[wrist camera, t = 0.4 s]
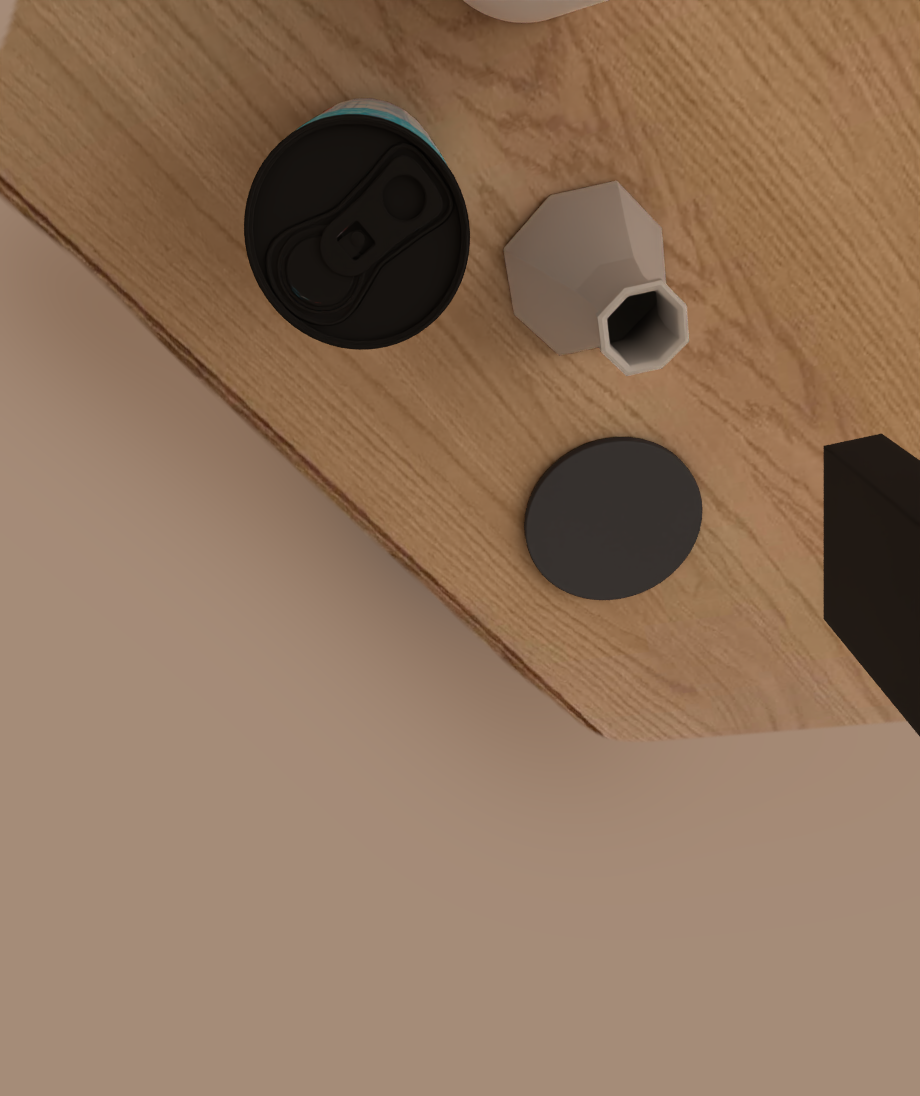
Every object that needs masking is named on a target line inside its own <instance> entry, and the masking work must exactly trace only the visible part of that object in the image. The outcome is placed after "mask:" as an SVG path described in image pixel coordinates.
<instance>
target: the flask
mask: <svg viewBox="0 0 920 1096" xmlns="http://www.w3.org/2000/svg"><path fill="white" fill-rule="evenodd" d="M503 251H504V257H505V263H506V269H507V275H508V281H509V287H510V293H511V299H512V305H513V311H514V315H515V316H516V317H518V318H519V319H520V320H521V321H522V322H523V323H524V324H525V325H526V326H527V327H528V328H530V329H531V330H532V331H533V332H534V333H535V334H536V335H537V336H538V337H539V338H540V339H542V340H543V341H544V342H545V343H546V344H547V345H548V346H549V347H550V348H551V349H552V350H554V351H555V352H556V353H557V354H558V355H559V356H560V355H566V354H570V353H575V352H579V351H584V350H589V349H593V348H598V347H600V352H602V353H603V354H604V355H605V356H606V357H607V358H608V359H609V360H610V361H611V362H612V363H613V364H614V365H615V366H616V367H617V368H619V369H620V370H621V371H622V372H623V373H624V374H625V375H626V376H629V375H634V374H638V373H643V372H648V371H652V370H657V369H662V368H663V367H664V366H665V365H666V364H667V363H668V362H669V361H670V360H671V359H672V358H673V357H674V356H675V355H676V354H677V353H678V352H679V351H680V350H681V349H682V348H683V347H684V346H685V345H686V344H687V343H688V342H689V333H688V318H687V305H686V304H685V303H684V302H683V301H682V300H681V299H680V298H679V297H678V296H677V295H676V294H675V293H674V292H673V291H672V290H671V289H670V288H669V287H668V286H667V285H666V274H665V262H664V249H663V237H662V228H661V227H660V226H659V225H658V224H657V222H656V221H655V220H654V219H653V218H652V217H651V216H650V215H649V214H648V213H647V212H646V211H645V210H644V209H643V208H642V207H641V206H640V205H639V203H638V202H637V201H636V200H635V199H634V198H633V197H632V196H631V195H630V194H629V193H628V192H627V191H626V190H625V189H624V188H623V187H622V185H621V184H620V183H619V182H618V181H613V182H608V183H604V184H599V185H594V186H590V187H585V188H581V189H576V190H572V191H567V192H563V193H558V194H554V195H550V196H549V197H548V198H547V199H546V200H545V201H544V203H543V204H542V205H541V206H540V207H539V208H538V209H537V211H536V212H535V213H534V214H533V215H532V216H531V218H530V219H529V220H528V221H527V222H526V223H525V224H524V226H523V227H522V228H521V229H520V230H519V231H518V232H517V234H516V235H515V236H514V237H513V238H512V239H511V241H510V242H509V243H508V244H507V245H506V246H505V247H504V249H503Z"/></svg>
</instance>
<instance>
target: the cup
mask: <svg viewBox="0 0 920 1096" xmlns="http://www.w3.org/2000/svg"><path fill="white" fill-rule="evenodd" d="M463 1H464V2H466V3H467V4H468V5H470V6H471V7H473V8H474V9H476V10H478V11H479V12H481V13H483V14H485V15H488V16H490V17H492V18H496V19H499V20H502V21H508V22H514V23H534V22H540V21H545V20H548V19H552V18H555V17H558V16H561V15H564V14H568V13H571V12H574V11H577V10H580V9H583V8H586V7H589V6H593V5H596V4H599V3H602V2H605V1H608V0H463Z"/></svg>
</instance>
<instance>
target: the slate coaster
mask: <svg viewBox="0 0 920 1096" xmlns="http://www.w3.org/2000/svg"><path fill="white" fill-rule="evenodd" d="M701 521H702V500H701V495H700V491H699V488H698V486H697V483H696V481H695V479H694V477H693V476H692V474H691V472H690V471H689V469H688V468H687V467H686V466H685V464H684V463H683V462H682V461H681V460H680V459H679V458H678V457H677V456H676V455H674V454H673V453H672V452H671V451H669V450H667V449H666V448H664V447H663V446H660V445H658V444H656V443H654V442H651V441H647V440H644V439H639V438H632V437H613V438H605V439H601V440H596V441H593V442H590V443H587V444H584V445H582V446H580V447H578V448H576V449H574V450H572V451H570V452H569V453H567V454H566V455H564V456H563V457H561V458H560V459H559V460H558V461H556V462H555V463H554V464H553V465H552V466H551V467H550V468H549V469H548V470H547V471H546V472H545V473H544V474H543V476H542V477H541V479H540V480H539V481H538V483H537V484H536V486H535V488H534V490H533V492H532V494H531V496H530V499H529V501H528V504H527V508H526V513H525V522H524V529H525V538H526V543H527V547H528V550H529V553H530V555H531V558H532V560H533V562H534V563H535V565H536V567H537V568H538V570H539V571H540V572H541V573H542V575H543V576H544V577H545V578H546V579H547V580H548V581H550V582H551V583H552V584H554V585H555V586H556V587H558V588H560V589H561V590H563V591H565V592H567V593H570V594H572V595H575V596H578V597H582V598H586V599H594V600H613V599H621V598H625V597H630V596H633V595H636V594H639V593H642V592H644V591H646V590H648V589H650V588H652V587H654V586H656V585H657V584H659V583H661V582H662V581H663V580H665V579H666V578H667V577H669V576H670V575H671V574H672V573H673V572H674V571H675V570H676V569H677V568H678V567H679V566H680V565H681V564H682V563H683V561H684V560H685V559H686V558H687V556H688V554H689V553H690V551H691V550H692V548H693V546H694V544H695V542H696V539H697V537H698V534H699V531H700V526H701Z"/></svg>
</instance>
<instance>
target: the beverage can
mask: <svg viewBox="0 0 920 1096" xmlns="http://www.w3.org/2000/svg"><path fill="white" fill-rule="evenodd" d="M244 236H245V245H246V251H247V256H248V259H249V263H250V266H251V269H252V271H253V274H254V277H255V279H256V281H257V283H258V285H259V287H260V288H261V290H262V292H263V293H264V295H265V296H266V298H267V299H268V301H269V302H270V303H271V304H272V306H273V307H274V308H275V309H276V311H277V312H278V313H279V314H280V315H281V316H282V317H283V318H284V319H286V320H287V321H288V322H289V323H290V324H291V325H293V326H294V327H295V328H297V329H298V330H300V331H301V332H303V333H305V334H306V335H308V336H310V337H312V338H314V339H316V340H318V341H321V342H323V343H326V344H329V345H333V346H337V347H341V348H347V349H359V350H360V349H377V348H382V347H387V346H391V345H394V344H397V343H400V342H402V341H405V340H407V339H409V338H411V337H413V336H415V335H416V334H418V333H420V332H421V331H422V330H424V329H425V328H426V327H428V326H429V325H430V324H431V323H433V322H434V321H435V320H436V319H437V318H438V317H439V316H440V315H441V313H442V312H443V311H444V310H445V309H446V307H447V306H448V305H449V303H450V302H451V300H452V299H453V297H454V295H455V294H456V292H457V290H458V288H459V286H460V284H461V281H462V278H463V276H464V273H465V269H466V265H467V261H468V255H469V246H470V229H469V219H468V213H467V209H466V205H465V201H464V198H463V195H462V192H461V190H460V188H459V186H458V183H457V181H456V179H455V177H454V175H453V174H452V172H451V170H450V169H449V168H448V166H447V164H446V162H445V160H444V158H443V157H442V155H441V153H440V152H439V150H438V149H437V147H436V146H435V144H434V143H433V141H432V140H431V138H430V137H429V135H428V133H427V132H426V131H425V129H424V128H423V127H422V126H421V125H420V123H419V122H418V121H417V120H416V119H415V118H414V117H412V116H411V115H410V114H409V113H407V112H406V111H405V110H403V109H402V108H400V107H398V106H396V105H393V104H391V103H389V102H387V101H382V100H377V99H373V98H360V99H352V100H348V101H344V102H341V103H338V104H336V105H335V106H333V107H331V108H329V109H327V110H326V111H324V112H323V113H322V114H320V115H318V116H317V117H315V118H313V119H312V120H310V121H308V122H307V123H305V124H304V125H302V126H301V127H299V128H298V129H297V130H295V131H294V132H292V133H291V134H290V135H288V136H287V137H286V138H285V139H284V140H282V141H281V142H280V143H279V144H278V145H277V146H276V147H275V148H274V149H273V150H272V151H271V152H270V154H269V155H268V156H267V158H266V159H265V160H264V162H263V163H262V165H261V167H260V168H259V170H258V172H257V174H256V176H255V178H254V180H253V183H252V185H251V188H250V191H249V195H248V198H247V203H246V209H245V218H244Z"/></svg>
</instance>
